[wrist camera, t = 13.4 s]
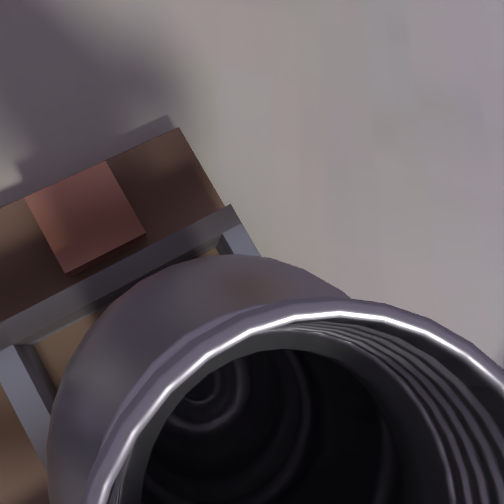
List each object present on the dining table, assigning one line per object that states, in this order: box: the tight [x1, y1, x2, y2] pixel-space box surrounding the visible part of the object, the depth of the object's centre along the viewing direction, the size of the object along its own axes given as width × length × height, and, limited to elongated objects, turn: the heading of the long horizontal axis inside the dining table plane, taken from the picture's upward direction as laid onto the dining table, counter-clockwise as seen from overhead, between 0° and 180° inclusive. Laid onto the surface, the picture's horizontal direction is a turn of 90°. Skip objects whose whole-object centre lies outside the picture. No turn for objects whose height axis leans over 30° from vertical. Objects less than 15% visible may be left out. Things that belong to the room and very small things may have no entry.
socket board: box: [0, 127, 261, 504], centre depth 20 cm, size 18×23×4 cm
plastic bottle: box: [46, 254, 504, 504], centre depth 13 cm, size 6×7×20 cm
